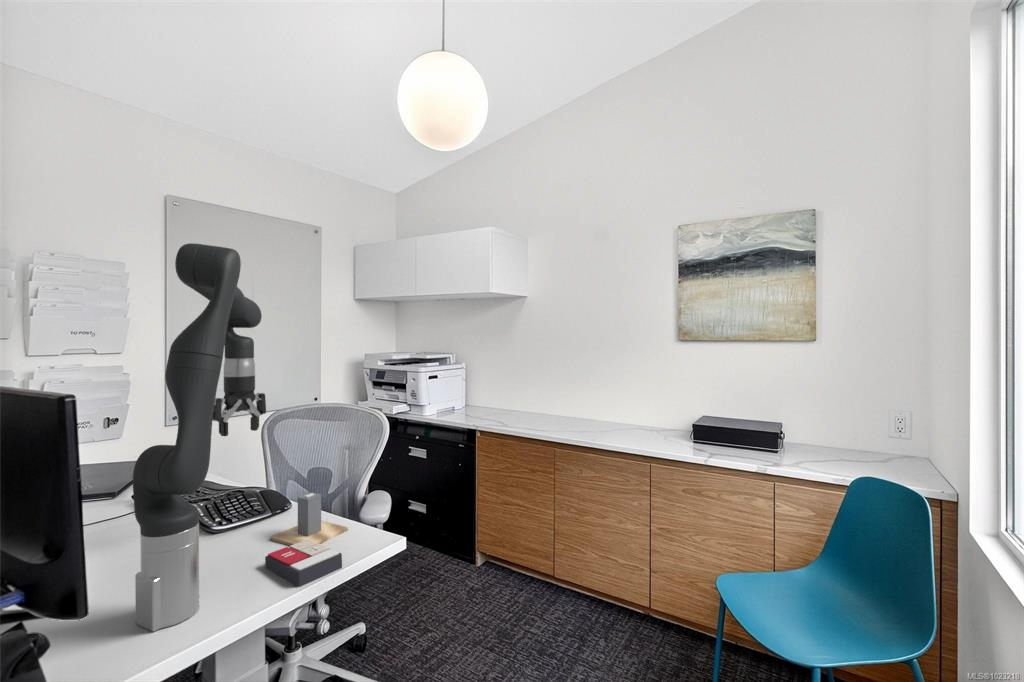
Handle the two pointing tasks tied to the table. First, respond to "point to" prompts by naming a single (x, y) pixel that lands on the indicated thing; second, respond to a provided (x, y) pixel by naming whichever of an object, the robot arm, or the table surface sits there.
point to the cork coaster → (325, 534)
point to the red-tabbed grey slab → (303, 562)
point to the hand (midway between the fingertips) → (239, 432)
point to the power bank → (309, 514)
